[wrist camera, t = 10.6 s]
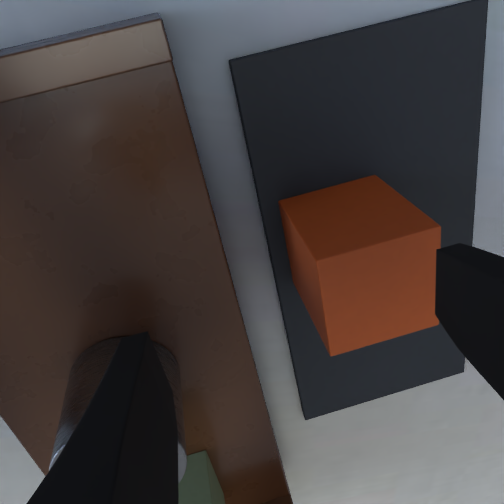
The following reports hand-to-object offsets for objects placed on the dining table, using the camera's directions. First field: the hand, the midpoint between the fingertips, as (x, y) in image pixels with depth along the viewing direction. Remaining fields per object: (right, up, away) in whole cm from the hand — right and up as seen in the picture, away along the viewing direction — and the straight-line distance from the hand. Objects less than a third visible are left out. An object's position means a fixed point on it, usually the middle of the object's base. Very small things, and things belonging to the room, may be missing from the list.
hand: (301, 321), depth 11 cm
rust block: (+2, +3, +9) cm, 10 cm away
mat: (+5, +2, +11) cm, 12 cm away
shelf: (-7, -2, +11) cm, 13 cm away
